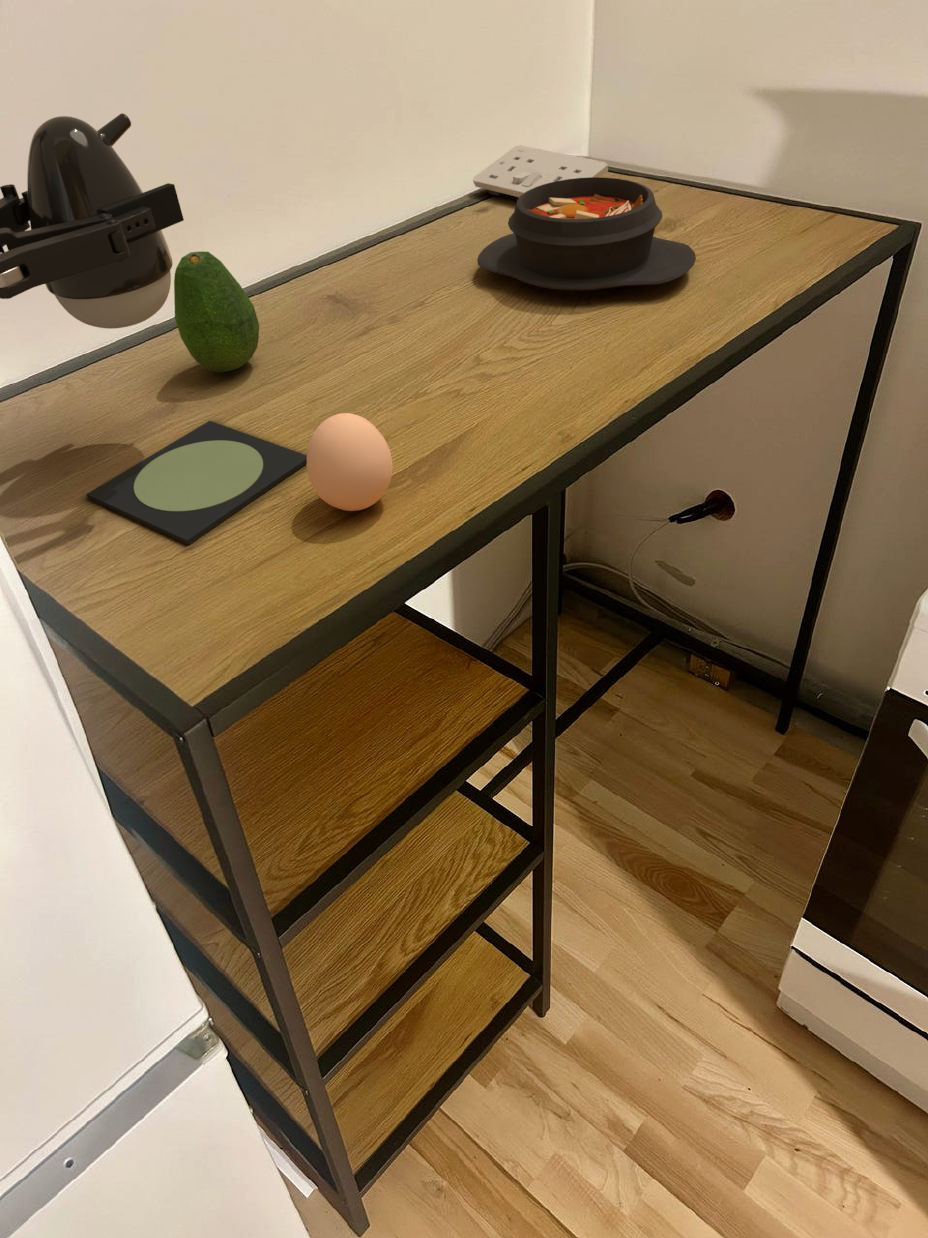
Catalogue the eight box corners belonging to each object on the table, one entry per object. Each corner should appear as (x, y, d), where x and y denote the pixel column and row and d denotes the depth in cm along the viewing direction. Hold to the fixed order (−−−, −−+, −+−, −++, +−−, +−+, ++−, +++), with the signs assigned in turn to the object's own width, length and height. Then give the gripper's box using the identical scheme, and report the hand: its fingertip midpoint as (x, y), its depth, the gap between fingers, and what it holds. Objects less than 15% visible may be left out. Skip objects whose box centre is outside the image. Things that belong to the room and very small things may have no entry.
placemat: (88, 498, 78) (85, 492, 78) (211, 424, 86) (209, 419, 86) (188, 545, 72) (186, 539, 72) (311, 461, 80) (309, 455, 80)
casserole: (710, 251, 108) (718, 175, 103) (671, 316, 96) (677, 234, 90) (512, 237, 117) (509, 166, 111) (452, 295, 104) (446, 219, 99)
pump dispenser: (209, 310, 77) (154, 108, 67) (93, 353, 72) (16, 143, 62) (153, 281, 83) (95, 92, 73) (43, 320, 79) (-34, 123, 69)
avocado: (176, 376, 95) (139, 259, 87) (232, 346, 99) (203, 231, 91) (228, 394, 91) (195, 273, 83) (285, 361, 95) (258, 243, 87)
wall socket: (622, 179, 127) (619, 149, 124) (564, 231, 120) (560, 201, 117) (512, 172, 136) (508, 144, 134) (453, 220, 129) (447, 191, 127)
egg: (389, 529, 71) (375, 439, 66) (307, 528, 72) (286, 440, 67) (404, 481, 76) (392, 395, 71) (326, 481, 77) (309, 395, 72)
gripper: (-176, 318, 70) (71, 223, 83) (-16, 382, 59) (239, 261, 72) (-233, 215, 65) (38, 131, 78) (-70, 265, 54) (214, 157, 67)
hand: (135, 194), depth 75 cm, fingers closed on pump dispenser, 9 cm apart
